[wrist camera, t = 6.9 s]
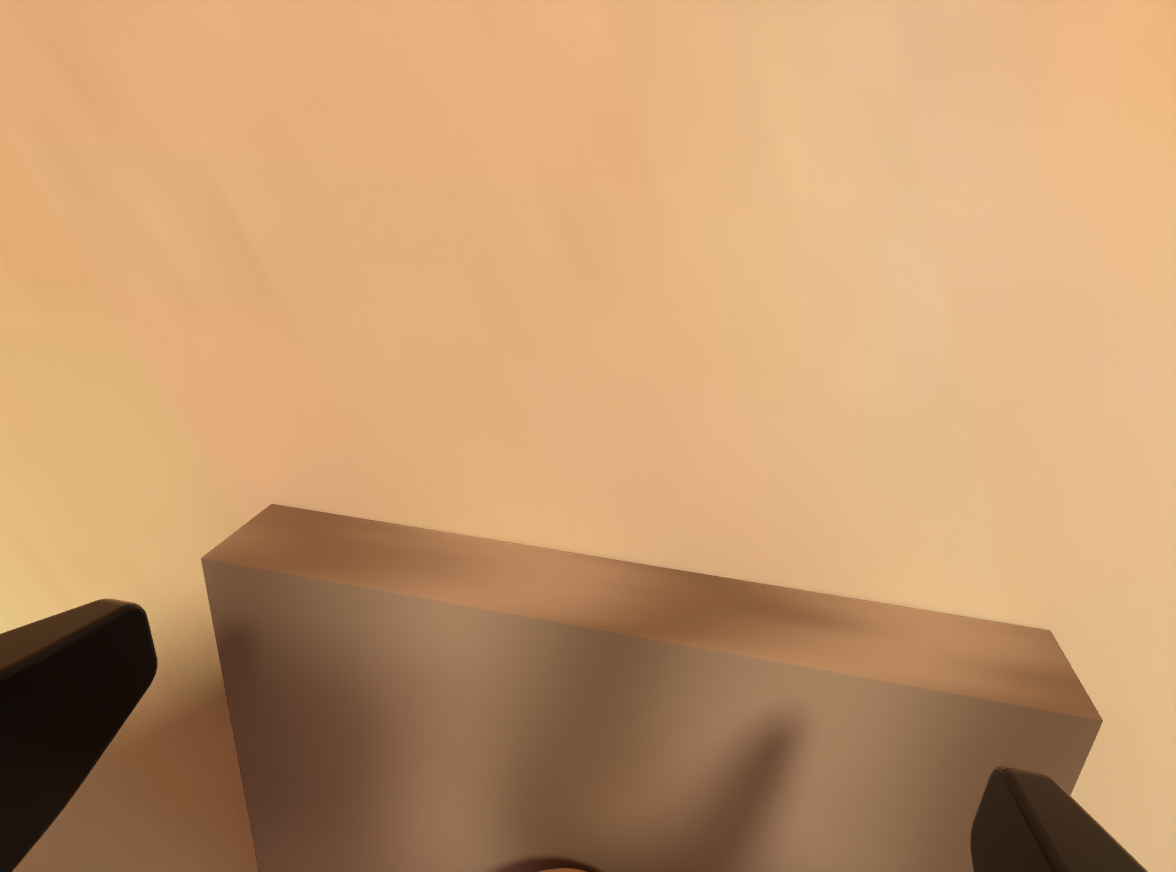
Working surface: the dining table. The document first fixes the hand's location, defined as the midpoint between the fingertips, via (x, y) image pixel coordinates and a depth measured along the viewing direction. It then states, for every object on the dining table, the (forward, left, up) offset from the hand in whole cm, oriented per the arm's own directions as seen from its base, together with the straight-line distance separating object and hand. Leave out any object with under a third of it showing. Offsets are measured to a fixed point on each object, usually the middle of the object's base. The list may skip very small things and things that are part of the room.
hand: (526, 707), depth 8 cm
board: (0, +13, -5) cm, 14 cm away
